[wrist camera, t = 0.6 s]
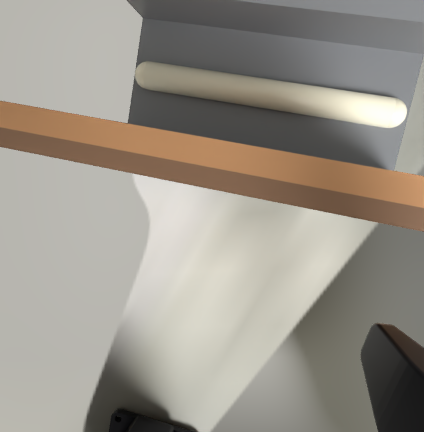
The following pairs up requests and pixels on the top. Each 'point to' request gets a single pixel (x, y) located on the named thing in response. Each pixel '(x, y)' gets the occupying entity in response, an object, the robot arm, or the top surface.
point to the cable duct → (282, 73)
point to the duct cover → (218, 165)
